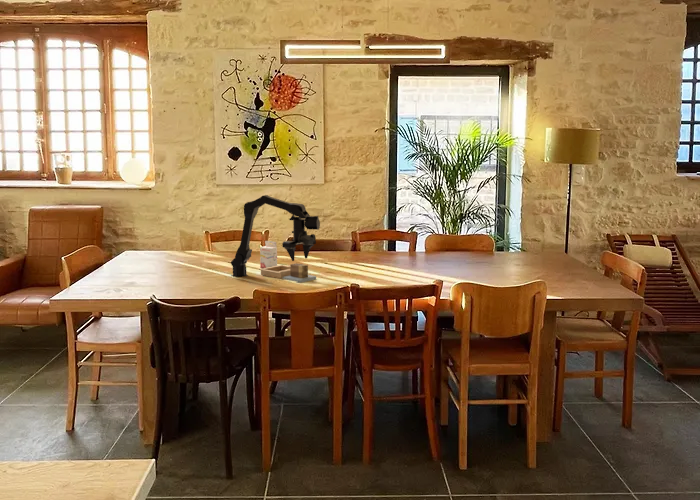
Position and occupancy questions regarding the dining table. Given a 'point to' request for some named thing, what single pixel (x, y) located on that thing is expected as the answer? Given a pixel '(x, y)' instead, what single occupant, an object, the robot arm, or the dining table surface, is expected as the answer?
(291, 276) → the trivet
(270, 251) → the ink cartridge box
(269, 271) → the beige shallow square tray
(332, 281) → the dining table surface
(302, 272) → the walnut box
